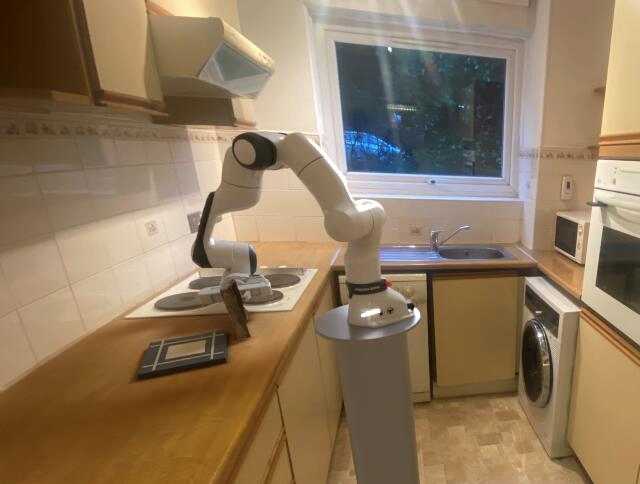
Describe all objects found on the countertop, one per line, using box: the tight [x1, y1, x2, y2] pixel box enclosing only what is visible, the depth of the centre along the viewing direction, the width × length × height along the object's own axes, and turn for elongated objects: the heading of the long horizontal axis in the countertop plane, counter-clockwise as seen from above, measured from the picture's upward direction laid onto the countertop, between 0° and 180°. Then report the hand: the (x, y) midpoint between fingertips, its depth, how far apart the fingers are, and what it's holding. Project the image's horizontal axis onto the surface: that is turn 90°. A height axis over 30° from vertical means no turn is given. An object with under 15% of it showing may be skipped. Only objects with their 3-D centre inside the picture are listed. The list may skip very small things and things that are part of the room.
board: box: [137, 329, 229, 380], centre depth 116 cm, size 18×20×2 cm
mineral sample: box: [220, 278, 252, 340], centre depth 129 cm, size 17×4×15 cm, turn 29°
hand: (236, 299), depth 133 cm, fingers closed on mineral sample, 3 cm apart
